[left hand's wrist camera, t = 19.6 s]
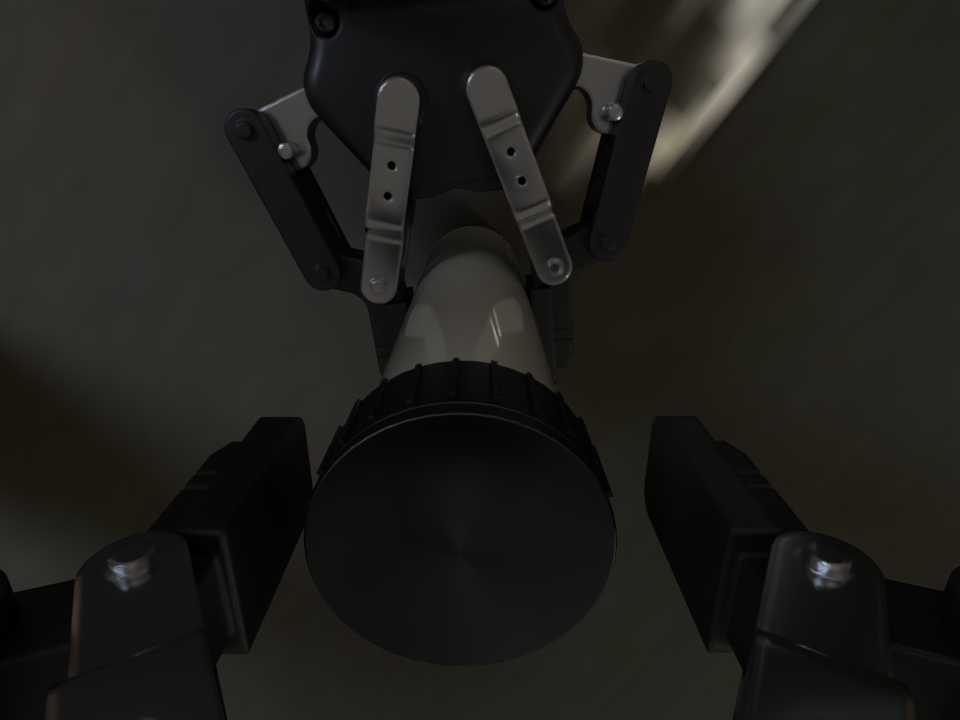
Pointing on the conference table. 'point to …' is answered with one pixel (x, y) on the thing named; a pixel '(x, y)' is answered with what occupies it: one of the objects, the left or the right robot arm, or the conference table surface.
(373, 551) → the lid
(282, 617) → the conference table surface
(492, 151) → the right robot arm
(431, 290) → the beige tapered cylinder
